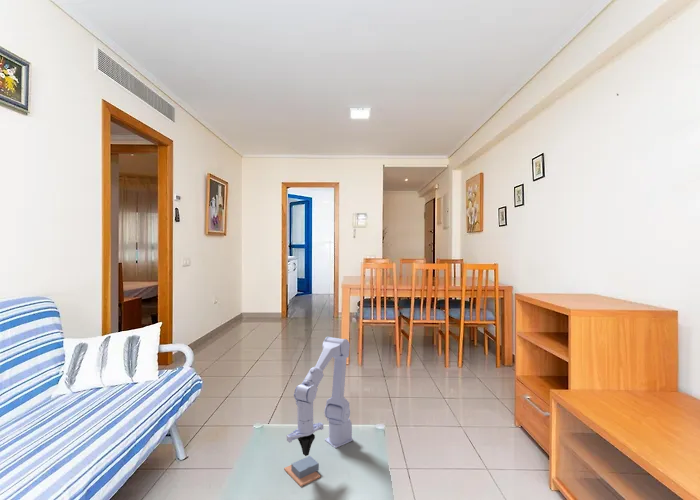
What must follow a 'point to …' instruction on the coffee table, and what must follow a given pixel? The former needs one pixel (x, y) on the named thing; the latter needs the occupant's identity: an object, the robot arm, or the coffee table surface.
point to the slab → (304, 467)
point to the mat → (305, 479)
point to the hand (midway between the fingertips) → (305, 454)
